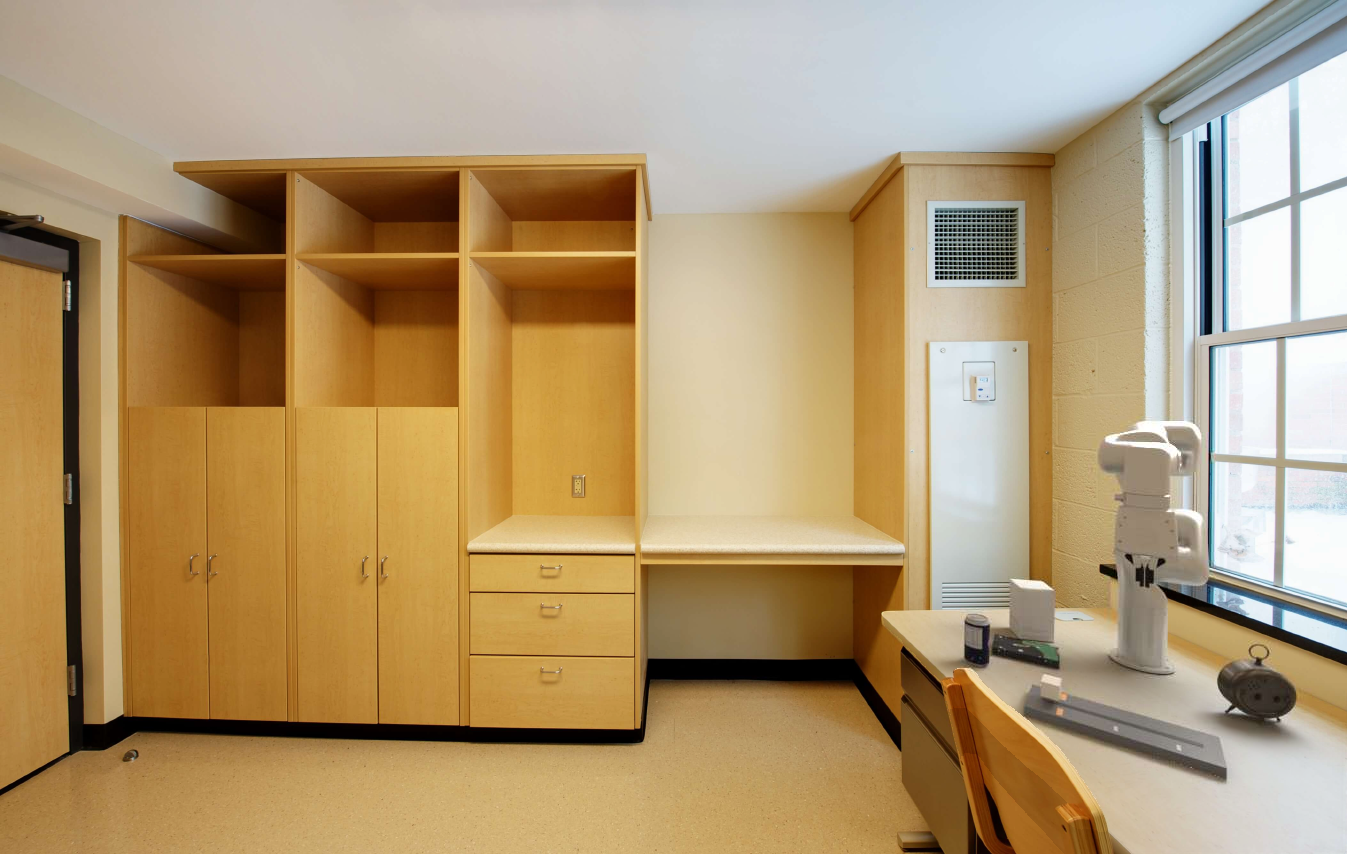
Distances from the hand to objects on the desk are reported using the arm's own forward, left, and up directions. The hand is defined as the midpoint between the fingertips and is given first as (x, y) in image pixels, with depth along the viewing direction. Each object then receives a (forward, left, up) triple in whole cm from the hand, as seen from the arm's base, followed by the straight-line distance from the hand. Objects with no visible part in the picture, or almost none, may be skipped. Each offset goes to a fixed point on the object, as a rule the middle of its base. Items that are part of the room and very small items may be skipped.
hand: (1144, 585), depth 114 cm
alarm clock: (-10, +18, -27) cm, 34 cm away
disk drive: (-14, -23, -28) cm, 39 cm away
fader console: (+14, -4, -27) cm, 31 cm away
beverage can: (0, -32, -27) cm, 42 cm away
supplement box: (-30, -24, -27) cm, 47 cm away
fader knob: (+14, -15, -25) cm, 32 cm away
